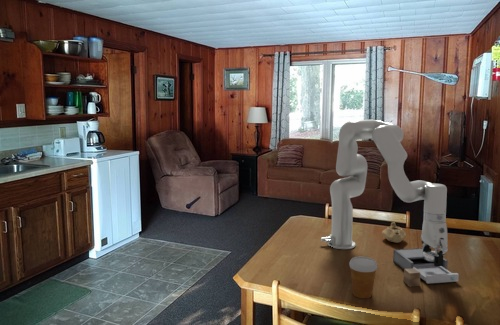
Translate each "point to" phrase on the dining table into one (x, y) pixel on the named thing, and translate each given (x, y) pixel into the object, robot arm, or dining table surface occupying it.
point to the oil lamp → (394, 233)
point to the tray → (435, 273)
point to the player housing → (411, 258)
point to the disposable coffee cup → (363, 276)
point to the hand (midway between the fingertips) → (432, 261)
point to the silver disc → (429, 255)
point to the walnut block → (412, 277)
